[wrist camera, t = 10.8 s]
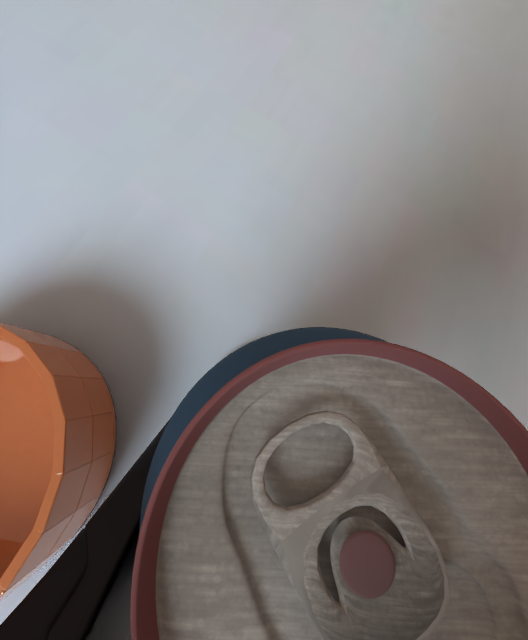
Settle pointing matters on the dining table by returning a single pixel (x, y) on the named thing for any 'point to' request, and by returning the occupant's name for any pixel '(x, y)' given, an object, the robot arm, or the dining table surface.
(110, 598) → the robot arm
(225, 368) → the soda can
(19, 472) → the orange bowl
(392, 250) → the dining table surface
